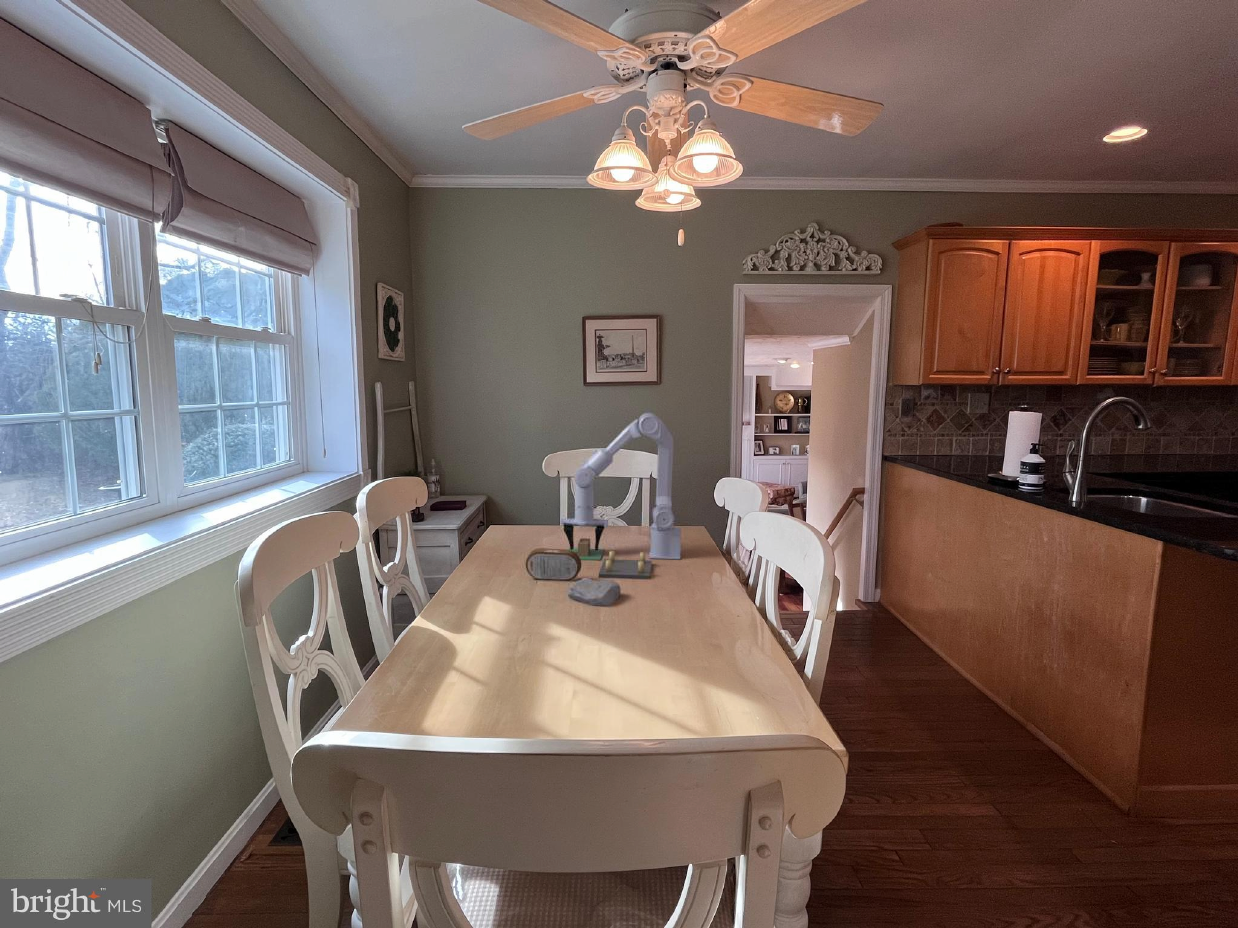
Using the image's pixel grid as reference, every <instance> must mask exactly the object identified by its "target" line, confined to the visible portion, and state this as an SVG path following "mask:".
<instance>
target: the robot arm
mask: <svg viewBox="0 0 1238 928" xmlns="http://www.w3.org/2000/svg"><path fill="white" fill-rule="evenodd" d="M641 434H643V436H644V435H645V436H646V437H648V438H651V439H652V441H654V442H655V443H656V445H657V463H656V465H657V466H656V467H657V468H656V492H655V495H656V496H655V503H654V506H653V508H652V511H651V516H652V518H653V519H652V520H653V522H652V524H651V525H650V549H649V553H648V554H649V555H648V558H649V559H659V560H660V559H661V560H667V559H668V560H681V553H682V547H683V546H682V545H681V544H682V543H681V542H682V539H681V538H682V536H681V535H682V533H681V532H682V530H681V529H682V528H681V527H675V524H674V523H675V515H674V513H673V509H672V508H673V507H672V505H673V504H672V487H673V485H672V484H673V465H674V464H673V463H674V461H673V460H674V437H673V436H672V434H671V433H670V431H669V429H668V428H667V427H666V425H665V423H664V422H663V421H662V420H661V418H659V416H657V415H655V414H654V413H651V412H645V413H643V414H641V415H640V416H639V418H636V419H634V421H632V422H630V423H629V424H627V426H626V427H625V428H624V429H623V430H622V431H621V432H620V433H619V434H618V435H617V436H616V437H615V438H614V439H613V441H611V443H610V444H609V445H608V446H607V447H605V448H601V447H600V448H599V449H595V450H593V452H592V455H591V456H590V457H589V458H588V459H587V460H586V461H583V462H582V463H581V465H582V466H579V468H577V469H576V471H575V473H574V476H573V477H574V478H573V479H574V483H575V485H574V487H575V490H574V518H572V517H571V518H560V527H563V532H564V534H565V535H566V537H567V541H568V543H569V548H570V550H573V548H574V547H575V544H574V542H575V541H574V528H575V527H595V529H594V533H595V534H594V535H595V543H594V545H595V546H594V549H595V550H598V549H599V545H600V541H601V537H602V534H603V532H604V530H605V528H608V527H609V519H601V518H600V519H599V518H594V511H595V510H594V509H595V508H594V507H595V506H594V503H595V501H594V500H595V499H594V497H595V496H594V495H595V493H594V492H595V491H594V489H593V488H594V487H593V485H594V480H595V477H599V476H600V475H601V474H602V473H603V472H604V471H605V470H606V469H607V468H608V467H609V466H610V465H611V464H612V463H613V462H614V458H613V457H614V455H616V454H617V453H618V452H619V451H620V450H621V449H622V448H623V447H624V446H625V445H627V444H628V443H629V442H630V441H631V440H632V439H635V438H641V437H642V435H641Z"/></svg>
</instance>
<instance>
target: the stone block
mask: <svg viewBox="0 0 1238 928" xmlns="http://www.w3.org/2000/svg"><path fill="white" fill-rule="evenodd" d="M621 589H622V588H621V586H620V584H619V582H616V581H615V580H611V579H610V580H609V579H604V580H599V581H597V580H594V579H591V578H590V577H584V578H582V579H580V580H577V581H575V582H573V583H572V584H570V586H568V590H567V597H568V598H569V599H572V600H574V601H578V602H581V603H583V604H586V605H589V606H593V607H594V606H595V607H608V606H609V605H612V604H613V603H614V602H615V600H617V599H618V598H619V597H620V596H621V591H622V590H621Z"/></svg>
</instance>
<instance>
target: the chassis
mask: <svg viewBox="0 0 1238 928" xmlns="http://www.w3.org/2000/svg"><path fill="white" fill-rule="evenodd" d="M608 552H609V554H608V558H604V559H603V561H602V564H601V567H600V570H599V572H598V578H604V579H605V578H607V579H633V580H635V579H636V580H651V572H652V565H653V564H652V563H653V562H652V560H649V559H648V560H646V551H645V552H644V551H641V552H639V560H638V559H617V558H616V556H615V554H616V552H615V551H613V550H610V551H608ZM615 558H616V559H615Z"/></svg>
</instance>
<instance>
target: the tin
mask: <svg viewBox="0 0 1238 928" xmlns="http://www.w3.org/2000/svg"><path fill="white" fill-rule="evenodd" d="M525 569H526V572H527V573H528V574H529V576H530V577H532V578H533V579H535V580H538V581H553V582H554V581H556V582H557V581H558V582H570V581H572V580H574V579H575V578H577V576H578V575H579V573H580V572H581V569H582V560H580V558H579V556H578V555H577V554H576V553H575V552H573V551H571V550H569V549H566V548H564V549H563V548H542V547H540V548H534V549H533V550H531V551H530V552H529V554H528V556H527V558H526V560H525Z"/></svg>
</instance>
